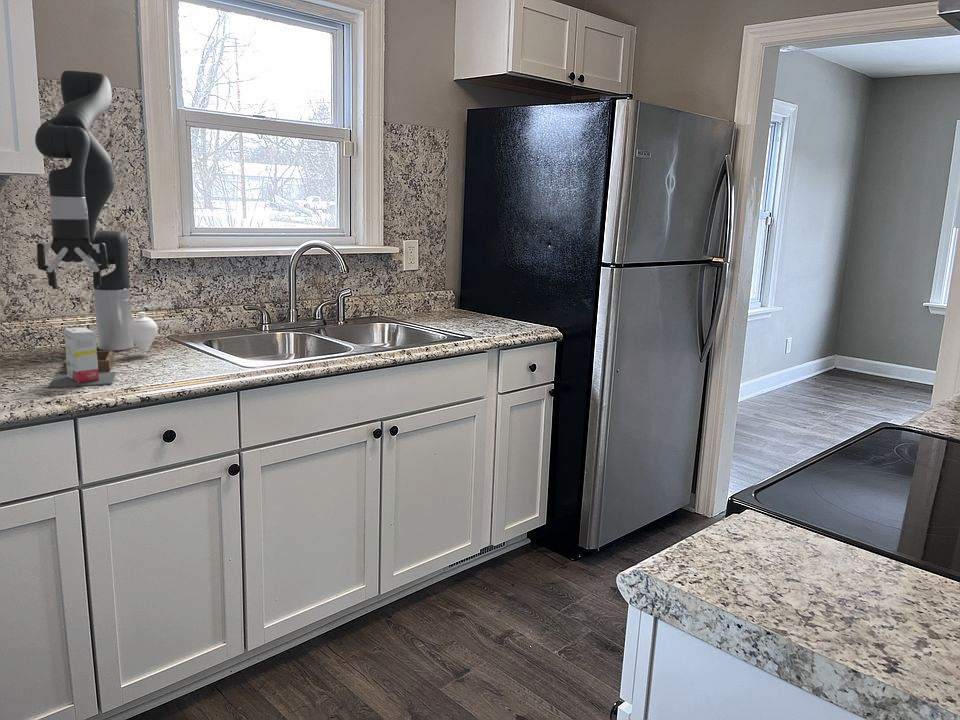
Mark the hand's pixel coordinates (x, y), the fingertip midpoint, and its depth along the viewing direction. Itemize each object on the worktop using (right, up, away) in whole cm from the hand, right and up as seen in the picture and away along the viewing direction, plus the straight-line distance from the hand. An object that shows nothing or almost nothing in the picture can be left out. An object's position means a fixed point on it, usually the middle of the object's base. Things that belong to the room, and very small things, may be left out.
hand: (75, 288), depth 174 cm
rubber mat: (-1, -22, +5) cm, 22 cm away
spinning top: (+1, -15, +34) cm, 38 cm away
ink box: (-1, -21, +5) cm, 22 cm away
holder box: (-6, -19, +17) cm, 26 cm away
